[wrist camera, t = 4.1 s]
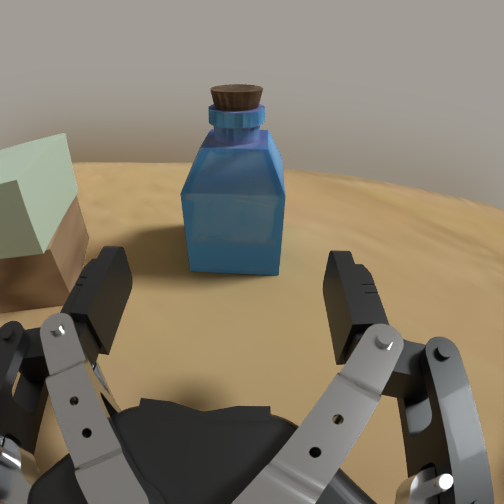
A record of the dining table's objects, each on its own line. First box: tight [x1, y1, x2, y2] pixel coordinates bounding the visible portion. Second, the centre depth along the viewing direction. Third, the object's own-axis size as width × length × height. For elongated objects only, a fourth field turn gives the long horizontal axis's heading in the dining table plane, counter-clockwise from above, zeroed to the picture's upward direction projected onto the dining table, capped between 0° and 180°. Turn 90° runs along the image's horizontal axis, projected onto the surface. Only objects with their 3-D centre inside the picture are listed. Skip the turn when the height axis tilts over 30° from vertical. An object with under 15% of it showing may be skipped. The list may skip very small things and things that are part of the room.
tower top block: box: [0, 133, 78, 259], centre depth 17 cm, size 8×8×5 cm
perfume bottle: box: [181, 84, 285, 275], centre depth 21 cm, size 6×6×12 cm
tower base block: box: [0, 195, 89, 313], centre depth 20 cm, size 8×8×5 cm
